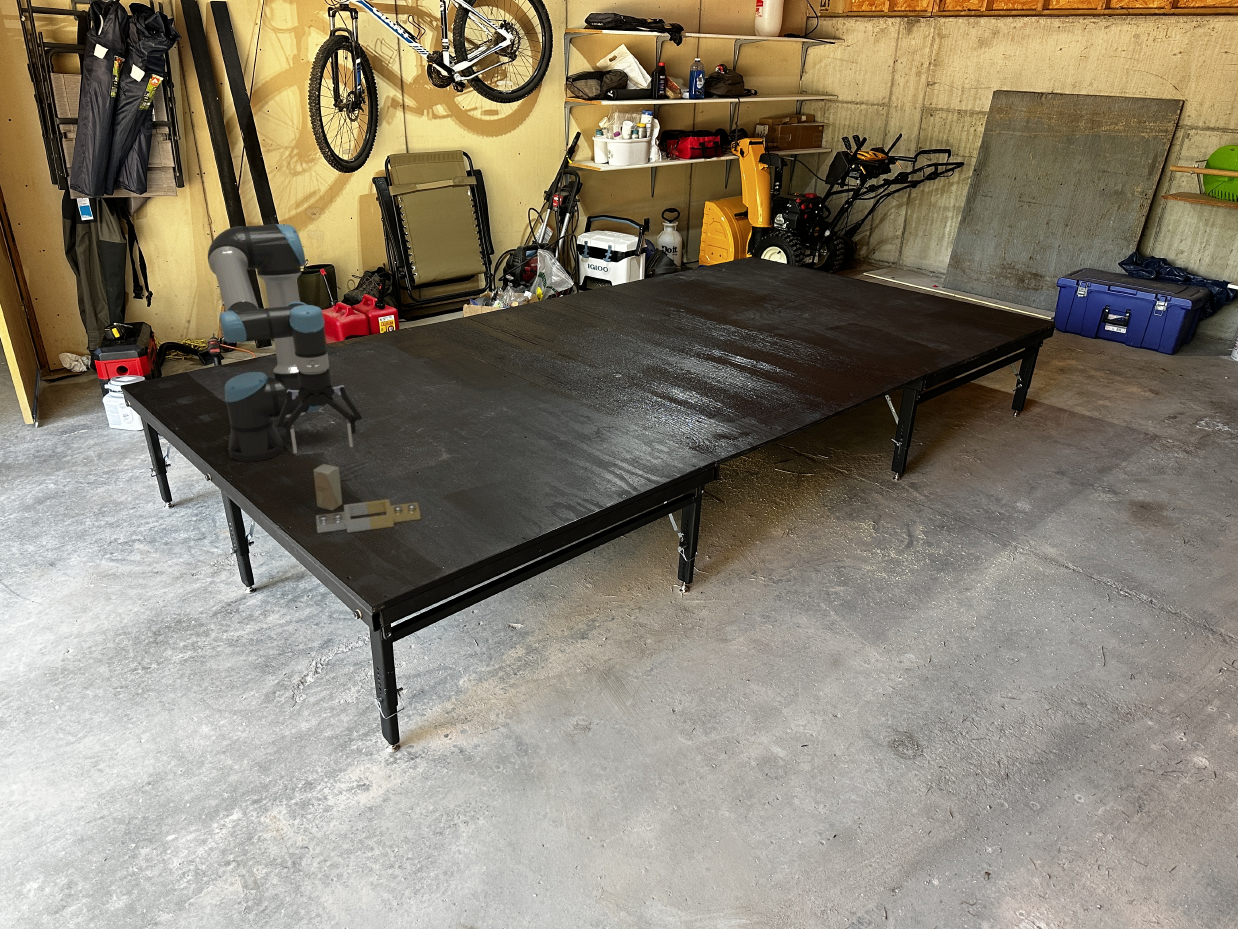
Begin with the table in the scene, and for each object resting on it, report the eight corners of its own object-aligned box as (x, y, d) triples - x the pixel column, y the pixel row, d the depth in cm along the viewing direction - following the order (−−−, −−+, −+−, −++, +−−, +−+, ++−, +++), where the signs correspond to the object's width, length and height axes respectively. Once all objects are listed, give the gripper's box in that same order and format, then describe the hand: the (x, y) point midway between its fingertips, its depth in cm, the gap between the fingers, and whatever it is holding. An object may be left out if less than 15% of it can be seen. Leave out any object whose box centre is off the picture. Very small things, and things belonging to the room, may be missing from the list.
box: (316, 507, 221) (311, 469, 216) (327, 499, 224) (322, 462, 219) (333, 511, 219) (328, 473, 214) (343, 503, 223) (339, 466, 218)
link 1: (317, 536, 207) (316, 526, 206) (316, 518, 215) (315, 508, 214) (370, 529, 211) (369, 519, 210) (367, 512, 219) (366, 502, 218)
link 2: (370, 529, 211) (369, 519, 210) (367, 512, 219) (366, 502, 218) (421, 522, 216) (420, 512, 214) (416, 505, 223) (415, 495, 222)
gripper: (258, 379, 198) (271, 459, 207) (367, 370, 206) (375, 448, 215) (259, 368, 204) (271, 447, 214) (364, 360, 212) (372, 436, 222)
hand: (323, 448), depth 214 cm, fingers open, 13 cm apart
